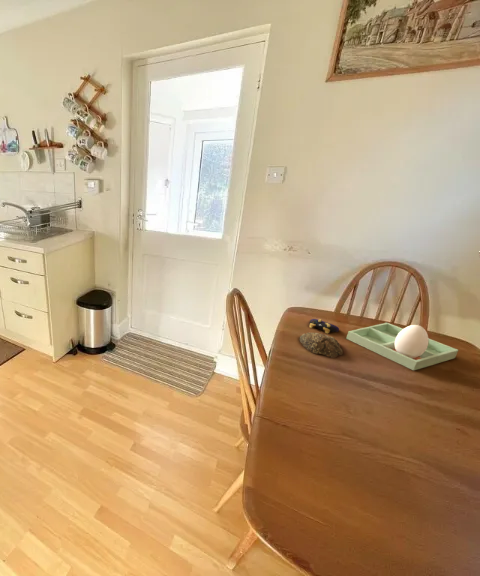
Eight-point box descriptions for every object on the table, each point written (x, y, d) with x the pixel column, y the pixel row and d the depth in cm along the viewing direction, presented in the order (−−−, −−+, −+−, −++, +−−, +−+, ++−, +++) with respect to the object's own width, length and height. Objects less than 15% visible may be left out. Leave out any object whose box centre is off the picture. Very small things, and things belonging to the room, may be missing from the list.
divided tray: (384, 330, 120) (387, 322, 119) (454, 359, 102) (458, 349, 101) (345, 339, 115) (348, 331, 113) (412, 371, 96) (417, 362, 95)
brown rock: (296, 336, 117) (299, 324, 116) (336, 342, 113) (339, 330, 111) (304, 354, 106) (307, 341, 104) (348, 361, 102) (352, 348, 100)
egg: (413, 353, 104) (426, 322, 100) (426, 365, 98) (440, 332, 94) (386, 349, 107) (397, 318, 103) (396, 361, 100) (408, 328, 96)
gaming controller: (340, 329, 120) (338, 322, 116) (333, 340, 119) (331, 334, 116) (312, 319, 127) (310, 313, 124) (306, 330, 127) (303, 324, 123)
